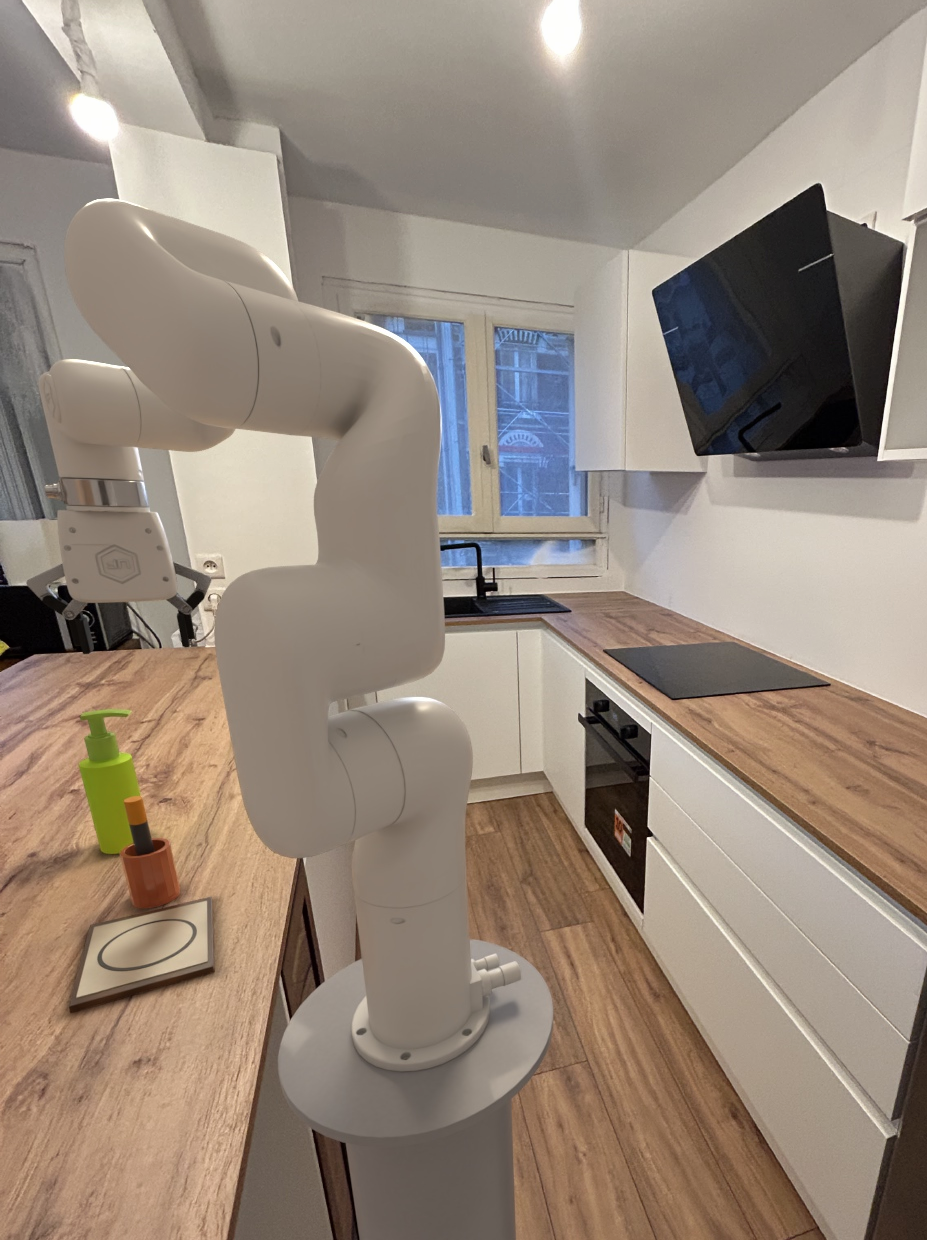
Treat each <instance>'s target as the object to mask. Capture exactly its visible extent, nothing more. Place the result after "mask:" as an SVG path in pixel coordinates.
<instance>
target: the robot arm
mask: <svg viewBox="0 0 927 1240" xmlns="http://www.w3.org/2000/svg"><path fill="white" fill-rule="evenodd" d="M64 239H65V240H64V245H63V246H64V247H63V261H64V271H65V275H66V281H67V283H68V288H69V290H70V293H71V296H72V299H73V301H74V303H75V306H76V307H77V308H78V310H79V313H80V314H81V316H82V317H83V319H84V320H85V322H86V323H87V324H88V326H89V327H90V328H91V330H92V331H93V332H94V334H95V335H97V337H98V338H100V340H101V341H102V342H103V343H104V344H105V346H106V347H108V349H110V350H111V352H112V353H113V354H114V355H115V356H116V357H118V358H119V360H120V361H121V362H123V364H124V365H125V366H122V365H117V364H116V365H114V364H108V363H103V362H96V361H91V360H85V359H75V358H67V359H60V360H57V361H56V362H54V363H52V364H53V365H52V366H51V367H50V368H49V371H45V372H43V373H42V374H41V375H40V376H39V379H38V381H37V382H38V384H37V385H38V386H37V387H38V391H39V396H40V401H41V404H42V409H43V413H44V416H45V422H46V427H47V430H48V435H49V439H50V444H51V447H52V451H53V457H54V460H55V464H56V469H57V474H58V477H59V478H57V479H58V480H57V481H58V482H56V483H52V484H44V486H43V488H44V493H45V496H46V498H47V499H56V500H60V501H61V502H63V505H65V509H58V510H57V514H56V515H57V518H56V519H57V521H56V522H57V535H58V536H57V537H58V543H59V550H60V551H59V552H60V558H61V563H60V564H58V565H56V566H54V567H52V568H50V569H47V570H45V571H43V572H41V573H40V574H37V575H34V576H33V577H31V578H28V579H27V580H26V582H25V584H26V586H27V587H28V589H30V590H31V591H32V593H34V594H35V595H36V597H38V598H39V599H40V600H41V601H42V603H43V604H44V605H45V606H47V607H48V608H50V609H51V610H53V611H55V612H56V613H58V614H59V615H60V616H62V617H63V618H64V619H66V620H67V622H68V626H69V629H70V633H71V638H72V641H73V645H74V647H80V649H81V652H82V655H89V654H91V653H92V652H93V651H94V650H95V647H94V642H93V638H92V634H91V629H90V625H89V621H88V617H87V616H85V615H84V613H83V610H84V609H85V608H86V606H87V605H88V604H100V603H101V604H103V603H104V604H106V603H108V604H109V603H129V602H130V603H133V602H136V603H137V602H158V601H159V602H160V601H167V602H168V603H169V604H171V605H172V606H173V607H174V608H175V609H176V610H177V612H178V613H176V619H177V626H178V630H179V635H180V641H181V646H182V647H183V648H191V642H190V640H196V635H195V629H194V623H193V617H192V613H193V611H194V610H196V608H197V607H198V606H199V605H200V604H201V603H202V602H203V601H204V600H205V597H206V595H207V593H208V590H209V588H210V586H211V583H212V577H211V575H209V574H206V573H204V572H202V571H199V570H197V569H194V568H192V567H189V566H187V565H185V564H182V563H179V562H178V561H174V560H173V556H172V552H171V548H170V547H171V546H170V545H169V540H168V537H167V534H166V530H165V528H164V525H163V522H162V520H161V517H160V515H159V513H158V511H151V508H150V503H149V498H148V492H147V488H146V483H145V477H144V473H143V467H142V462H141V456H140V452H139V449H149V450H150V449H151V450H160V451H161V450H162V451H172V452H173V451H174V452H184V453H195V452H196V453H197V452H203V451H207V450H209V449H212V448H214V447H216V446H217V445H219V444H221V443H223V442H224V441H226V440H227V439H229V438H230V437H231V436H233V434H234V433H235V431H236V430H243V431H251V432H252V431H253V432H260V433H270V434H278V435H284V436H285V435H286V436H296V437H308V438H318V439H326V440H332V441H338V442H337V444H336V445H335V446H334V447H333V449H332V450H331V452H330V453H329V455H328V457H327V459H326V461H325V462H324V465H323V467H322V470H321V472H320V473H319V475H318V478H317V481H316V484H315V487H314V493H313V515H314V516H313V517H314V522H315V523H314V524H315V529H316V535H317V548H318V550H317V552H318V553H317V560H316V563H315V564H300V565H299V564H298V565H280V566H268V567H263V568H258V569H254V570H250V571H248V572H245V573H243V574H241V575H240V576H238V577H237V578H235V579H234V580H232V582H231V583H229V585H228V586H227V587H226V588H225V589H224V591H223V593H222V595H221V596H220V599H219V602H218V604H217V609H216V613H215V618H214V629H213V635H214V636H213V637H214V648H215V654H216V655H215V656H216V664H217V670H218V676H219V681H220V686H221V687H220V688H221V693H222V698H223V704H224V709H225V715H226V719H227V720H226V721H227V725H228V731H229V736H230V737H229V738H230V742H231V747H232V752H233V758H234V765H235V770H236V775H237V780H238V785H239V790H240V796H241V798H242V802H243V806H244V810H245V812H246V815H247V817H248V820H249V823H250V825H251V828H252V829H253V831H254V832H255V835H257V837H258V839H259V840H260V841H261V842H262V844H263V845H264V846H265V847H267V849H269V850H270V851H271V852H272V853H274V854H276V855H278V856H281V857H283V858H288V859H307V858H312V857H315V856H318V855H322V854H324V853H328V852H329V851H333V850H335V849H337V848H340V847H342V846H345V845H348V844H349V843H352V842H354V845H353V850H352V856H351V867H350V868H351V869H350V870H351V881H352V889H353V897H354V906H355V915H356V924H357V931H358V939H359V940H358V941H359V949H360V954H361V955H360V957H361V958H362V966H363V974H364V982H365V991H366V996H365V997H364V999H363V1000H362V1001H361V1003H360V1004H359V1005H358V1007H357V1009H356V1011H355V1013H354V1015H353V1019H352V1024H351V1029H352V1038H353V1043H354V1046H355V1048H356V1050H357V1052H358V1053H359V1054H360V1055H361V1056H362V1057H363V1058H364V1059H365V1060H366V1061H367V1062H369V1063H371V1064H372V1065H374V1066H376V1067H380V1068H383V1069H386V1070H392V1071H400V1072H402V1071H418V1070H423V1069H428V1068H432V1067H435V1066H438V1065H441V1064H444V1063H446V1062H448V1061H450V1060H452V1059H454V1058H456V1057H457V1056H459V1055H460V1054H462V1053H463V1052H465V1051H466V1050H467V1049H468V1048H470V1047H471V1046H472V1045H473V1044H474V1043H475V1042H476V1041H477V1040H478V1038H479V1037H480V1036H481V1034H482V1033H483V1032H484V1030H485V1027H486V1025H487V1023H488V1020H489V1015H490V1000H489V995H490V994H491V993H492V989H494V988H497V987H500V986H506V985H509V984H511V983H514V982H517V981H520V980H521V971H520V968H519V965H518V963H517V962H516V961H514V962H511V963H508V964H505V965H502V966H499V959H498V956H497V954H496V953H495V954H492V955H490V956H487V957H484V958H483V959H480V960H477V961H474V959H471V952H470V939H471V937H470V936H471V935H470V933H471V932H470V918H469V915H470V914H469V900H468V899H469V897H468V896H469V895H468V881H467V879H468V877H467V873H468V871H467V853H466V851H467V850H466V849H467V848H466V821H467V820H466V819H467V809H468V801H469V794H470V788H471V782H472V777H473V767H474V753H473V744H472V739H471V735H470V733H469V730H468V727H467V726H466V724H465V722H464V721H463V719H462V717H461V716H460V715H459V714H458V713H457V712H456V711H455V710H454V709H453V708H452V707H451V706H449V705H448V704H446V703H444V702H443V701H440V700H437V699H435V698H431V697H426V696H404V697H397V698H390V699H387V700H383V701H379V702H375V703H370V704H366V705H363V706H359V707H354V708H351V709H347V710H343V711H342V712H338V713H335V714H331V715H329V714H330V712H329V711H330V707H331V704H332V703H335V702H340V701H343V700H347V699H348V700H349V699H351V698H356V697H360V696H364V695H368V694H372V693H377V692H381V691H384V690H388V689H392V688H396V687H399V686H405V685H407V684H410V683H414V682H417V681H419V680H422V679H424V678H427V677H428V676H429V675H431V674H433V673H434V671H435V670H437V668H438V667H439V666H440V665H441V664H442V661H443V657H444V653H445V649H446V648H445V647H446V621H445V619H446V618H445V601H444V586H443V572H442V558H441V557H442V556H441V539H440V527H439V520H438V519H439V517H438V480H439V479H438V478H439V469H440V468H439V467H440V457H441V447H442V434H443V433H442V432H443V426H442V425H443V422H442V421H443V420H442V419H443V417H442V407H441V401H440V395H439V392H438V391H439V390H438V388H437V385H436V382H435V378H434V376H433V375H432V372H431V371H430V369H429V366H428V364H427V363H426V361H425V360H424V358H423V357H422V356H421V355H420V353H419V352H418V351H417V350H416V349H415V348H414V347H413V346H412V345H411V344H410V343H408V342H407V341H406V340H405V339H404V338H402V337H400V336H398V335H397V334H395V333H393V332H391V331H389V330H387V329H385V328H383V327H381V326H379V325H377V324H376V325H375V324H373V323H371V322H368V321H365V320H362V319H360V318H356V317H353V316H350V315H348V314H343V313H342V312H341V313H340V312H337V311H334V310H331V309H328V308H327V309H326V308H324V307H321V306H316V305H313V304H310V303H306V302H302V301H299V299H298V296H297V292H296V290H295V288H294V286H293V284H292V283H291V281H290V280H289V279H288V277H287V276H286V274H285V273H284V272H283V270H282V269H281V268H280V267H279V266H278V265H277V264H276V263H275V262H274V261H272V260H271V259H270V258H269V257H268V256H267V255H265V254H264V253H262V252H261V251H260V250H259V249H257V248H255V247H253V246H252V245H250V244H248V243H246V242H244V241H241V240H239V239H237V238H234V237H232V236H230V235H226V234H224V233H221V232H218V231H215V230H211V229H209V228H206V227H203V226H200V225H198V224H194V223H191V222H188V221H185V220H182V219H181V218H177V217H174V216H170V215H168V214H165V213H163V212H160V211H156V210H154V209H150V208H148V207H145V206H142V205H139V204H136V203H133V202H130V201H126V200H122V199H116V198H101V199H96V200H92V201H90V202H88V203H86V204H85V205H84V206H83V207H81V208H80V209H79V210H78V211H77V212H76V213H75V214H74V216H73V217H72V219H71V220H70V223H69V224H68V228H67V230H66V234H65V238H64ZM177 575H178V576H181V577H183V578H186V579H189V580H191V581H192V582H195V584H196V586H195V588H194V591H193V592H192V593H191V594H190V595H189V596H188V597H187V598H185V597H184V596H182V595H181V594H180V593H179V592H178V579H177ZM62 578H64V579H65V584H66V587H67V591H68V594H69V596H70V597H71V598H72V599H71V600H70V602H68V601H66V600H64V599H62V598H61V597H59V596H58V595H56V594H55V593H54V592H53V591H52V589H51V588H50V584H51V583H54V582H56V581H58V580H60V579H62ZM497 967H498V968H497ZM494 968H497V969H494ZM491 969H494V970H491ZM488 970H491V971H488ZM487 971H488V972H487Z"/></svg>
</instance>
